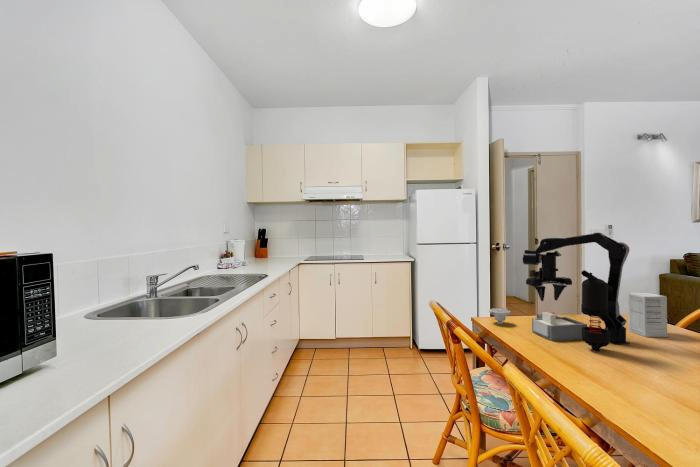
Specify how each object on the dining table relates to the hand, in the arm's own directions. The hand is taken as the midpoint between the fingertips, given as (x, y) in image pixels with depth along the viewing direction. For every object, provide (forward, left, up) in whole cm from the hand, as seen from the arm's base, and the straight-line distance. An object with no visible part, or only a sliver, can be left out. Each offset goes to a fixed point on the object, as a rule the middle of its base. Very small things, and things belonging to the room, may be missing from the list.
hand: (548, 300), depth 156 cm
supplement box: (-12, -36, -13) cm, 40 cm away
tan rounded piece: (0, 0, -10) cm, 9 cm away
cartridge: (-8, +4, -12) cm, 15 cm away
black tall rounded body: (-26, 0, -13) cm, 30 cm away
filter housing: (-5, +2, -13) cm, 14 cm away
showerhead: (+13, +16, -13) cm, 24 cm away
